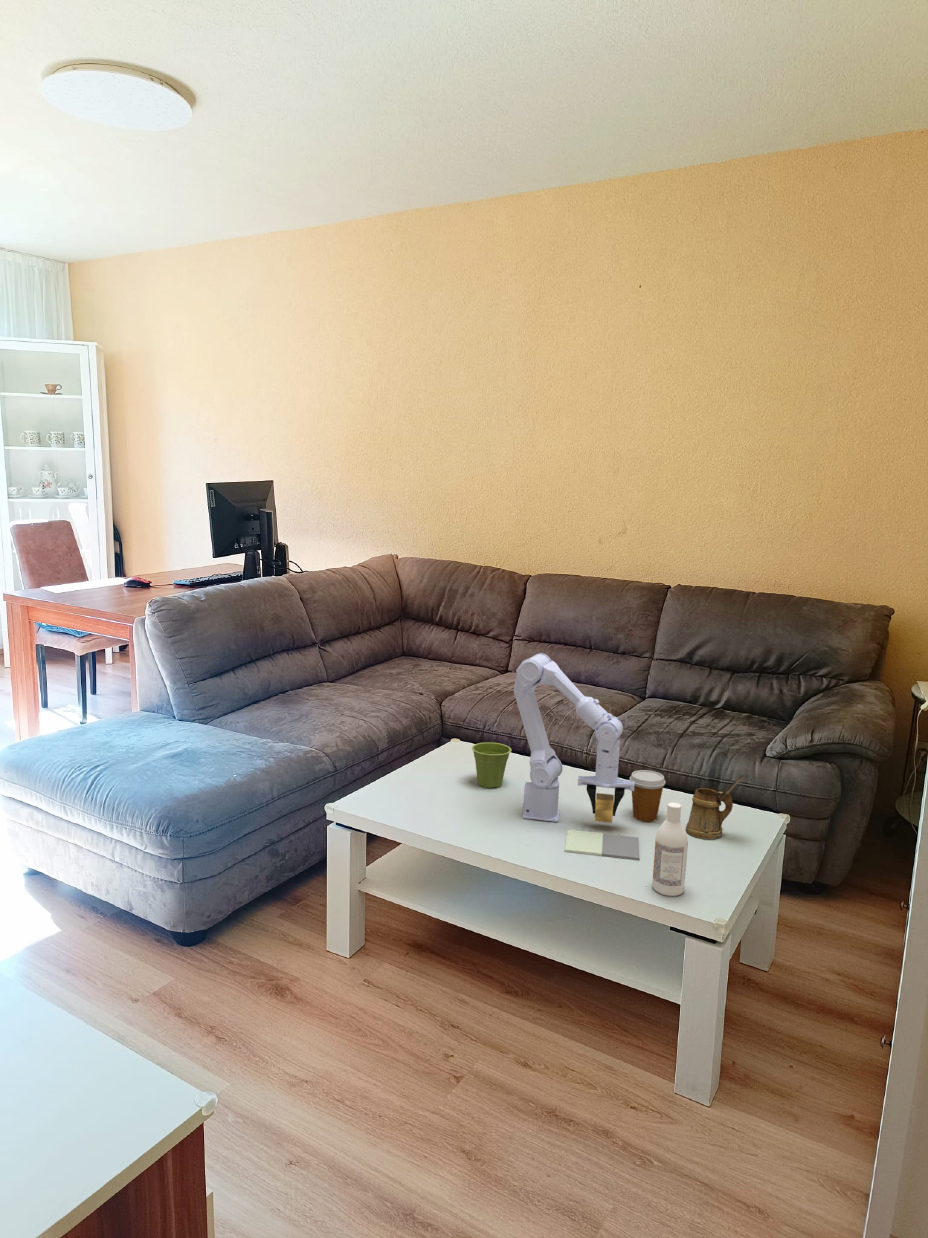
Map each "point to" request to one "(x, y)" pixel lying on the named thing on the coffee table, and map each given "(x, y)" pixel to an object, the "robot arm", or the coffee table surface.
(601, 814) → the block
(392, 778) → the coffee table surface
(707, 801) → the wooden mug
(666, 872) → the bath foam
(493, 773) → the plant pot
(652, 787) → the disposable coffee cup
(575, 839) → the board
